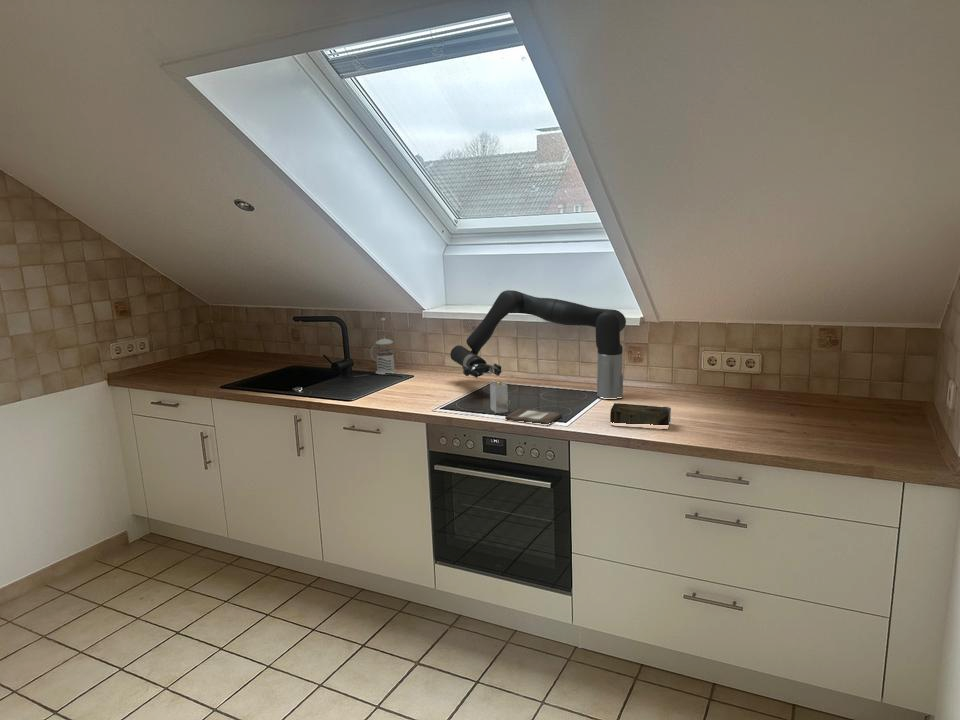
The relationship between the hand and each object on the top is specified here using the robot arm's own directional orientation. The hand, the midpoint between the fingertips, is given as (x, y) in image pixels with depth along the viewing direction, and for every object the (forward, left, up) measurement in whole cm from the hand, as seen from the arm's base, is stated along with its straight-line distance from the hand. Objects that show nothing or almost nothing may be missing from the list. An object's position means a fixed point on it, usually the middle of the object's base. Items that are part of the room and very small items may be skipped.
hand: (487, 374), depth 256 cm
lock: (-4, +11, -11) cm, 16 cm away
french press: (+49, -55, -11) cm, 75 cm away
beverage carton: (-51, +30, -12) cm, 60 cm away
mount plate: (-16, +21, -11) cm, 28 cm away
